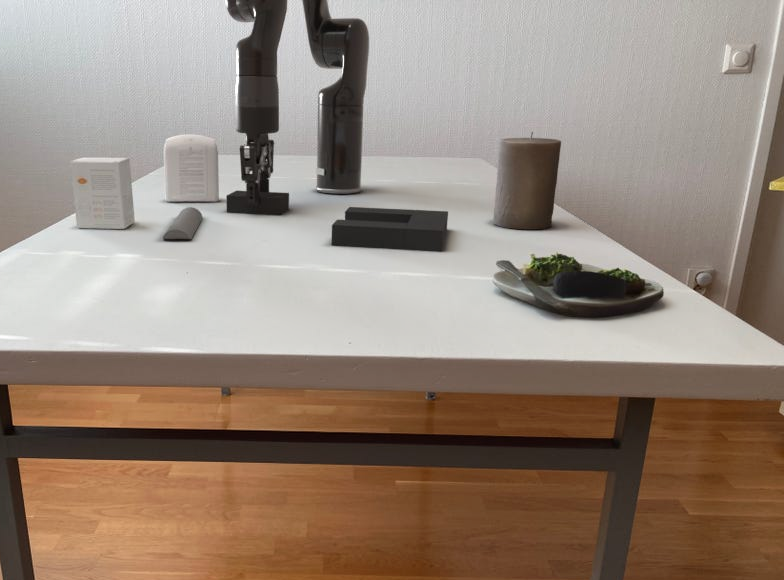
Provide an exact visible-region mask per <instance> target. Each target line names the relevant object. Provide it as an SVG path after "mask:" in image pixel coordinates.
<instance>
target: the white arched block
mask: <svg viewBox="0 0 784 580" xmlns="http://www.w3.org/2000/svg"><path fill="white" fill-rule="evenodd" d="M218 150H219V149H218V145H217V143H216V139H215V138H212V137H210V136H206V135H201V134H194V133H187V134H185V133H184V134H178V135H173V136H170V137H168V138H166V139H165V143H164V145H163V170H164V171H163V172H164V198H165V201H166V202H174V203H175V202H179V203H181V202H182V203H183V202H185V203H187V202H190V203H191V202H193V203H194V202H197V203H198V202H202V203H203V202H204V203H205V202H211V203H212V202H213V203H216V202H219V200H220V186H219V183H220V182H219V180H220V178H219V177H220V176H219V171H220V170H219V151H218Z"/></svg>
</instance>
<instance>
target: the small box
mask: <svg viewBox="0 0 784 580" xmlns="http://www.w3.org/2000/svg"><path fill="white" fill-rule="evenodd" d="M69 165H70V166H69V167H70V174H71V184H72V195H73V203H74V211H75V223H76V228H77V229H106V230H107V229H108V230H125V229H127V228H128V227H129V226H131V225H132V224H134V223H135V221H136V219H135V207H134V195H133V184H132V174H131V173H132V172H131V160H130V158H129V157H84V156H83V157H80V158H77V159H74V160H71V161H69Z"/></svg>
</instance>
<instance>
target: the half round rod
mask: <svg viewBox="0 0 784 580" xmlns="http://www.w3.org/2000/svg"><path fill="white" fill-rule="evenodd" d="M202 220H203V215H202V212H201V211H200V210H199V209H198V208H195V207H192V206H189V207H188V206H187V207H185V208H183V209H181V211H180V212H179V214H178V215H177V216H176V217H175V219H174V220H173V222H172V223H171V225H170V226H169V228H168V229H167V230H166V232H165V233H164V234H163V236H162V239H163V240H192V239H193V237H194V235H195V233H196V231H197V229H198V227H199V225H200V224H201V222H202Z"/></svg>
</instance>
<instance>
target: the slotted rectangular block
mask: <svg viewBox="0 0 784 580" xmlns="http://www.w3.org/2000/svg"><path fill="white" fill-rule="evenodd" d="M448 217H449V211H448V210H427V209H425V210H424V209H423V210H422V209H405V208H404V209H402V208H384V207H383V208H382V207H381V208H380V207H362V206H361V207H358V206H348V208H347V209H346V210H345V211H344V219H336V220H335V221H334V222H333V223H332V224H331V246H339V247H340V246H341V247H359V248H376V249H393V250H394V249H395V250H397V249H398V250H409V251H410V250H411V251H429V252H442V251H443V248H444V244H445V240H446V235H447V230H448V221H449V220H448V219H449V218H448Z"/></svg>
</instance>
